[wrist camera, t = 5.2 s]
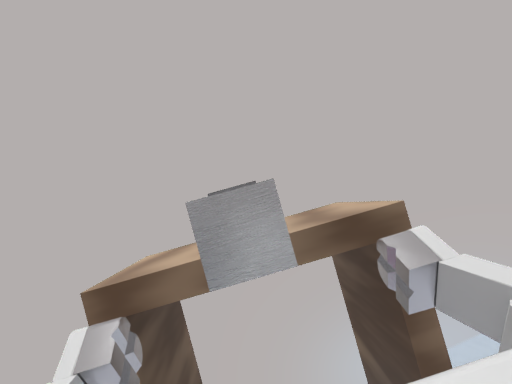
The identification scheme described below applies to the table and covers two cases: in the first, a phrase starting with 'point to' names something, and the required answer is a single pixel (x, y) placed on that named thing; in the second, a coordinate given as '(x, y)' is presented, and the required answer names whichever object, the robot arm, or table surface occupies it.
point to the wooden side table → (306, 250)
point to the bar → (241, 234)
